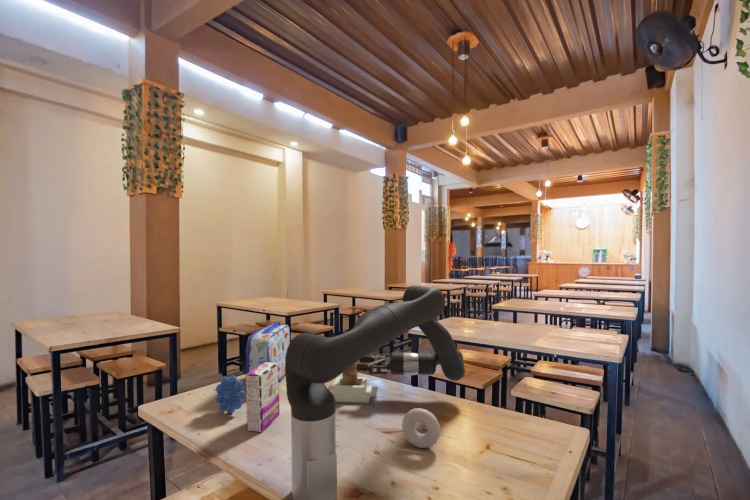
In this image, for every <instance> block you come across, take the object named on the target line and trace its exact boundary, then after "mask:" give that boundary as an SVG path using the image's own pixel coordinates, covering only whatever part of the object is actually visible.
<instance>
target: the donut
mask: <svg viewBox="0 0 750 500" xmlns="http://www.w3.org/2000/svg"><path fill="white" fill-rule="evenodd" d="M417 423H421V424H423V425H424V426H425V427H426V432H425V433H422V432H419V431H418V430H417V429H416V424H417ZM401 429H402V433H403V435H404V437H405V439H406V440H407V441H408V442H409V443H410V444H411V445H412V446H414V447H417V448H419V449H427V448H431V447H433V446H434V445H435V444H436V443H437V442H438V441H439V438H440V435H441V427H440V424H439V421H438V419H437V417H436V416H435V415H434V413H432V412H431V411H429V410H428V409H424V408H421V407H419V408H417V407H415V408H413V409H410V410H409V411H408V412H406V413H405V415H404V416H403V419H402V423H401Z"/></svg>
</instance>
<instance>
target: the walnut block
mask: <svg viewBox="0 0 750 500" xmlns="http://www.w3.org/2000/svg"><path fill="white" fill-rule="evenodd" d="M357 364H358V361H357V362H356V363H354V364H353V365H352V366H350V367H349V368H348V369H347V370H345V371H344V372H343V373H342V377H343V385H354V386H358V383H357V377H358V371H357V370H356V365H357Z"/></svg>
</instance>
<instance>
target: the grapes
mask: <svg viewBox="0 0 750 500" xmlns="http://www.w3.org/2000/svg"><path fill="white" fill-rule="evenodd" d="M243 386H244V383H243V381H242V380H238V378H237V376H236V375H231V376H229V377H228V376H223V377H222V378H221V380H220V383H218V384H217V386H216V387H215V391H216V393H217V395H216V396H215V402H216V403H217V404H219V409H220V411H221V412H224V411H226V412H227V413H228V414H233V413H235V411H236V410H239V409H240V408H242V405H243V400H244V399H245V397H246V391H244V390H242V389H243V388H244V387H243Z"/></svg>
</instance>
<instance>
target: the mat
mask: <svg viewBox="0 0 750 500" xmlns="http://www.w3.org/2000/svg"><path fill="white" fill-rule="evenodd" d="M332 386H333V384H332V385H331V384H329V386H328V387H327V388H328V390H329V391H330V392H331V390H332ZM371 386H372V391H371V395H370V399H369V403H365V402H335V405H338V406H339V405H341V406H342V405H343V406H372V407H373V406H375V403H376V400H377V399H376V398H377V395H378V394H377V393H378V388H379V387H378V386H375V385H374V386H373V385H371Z"/></svg>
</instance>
